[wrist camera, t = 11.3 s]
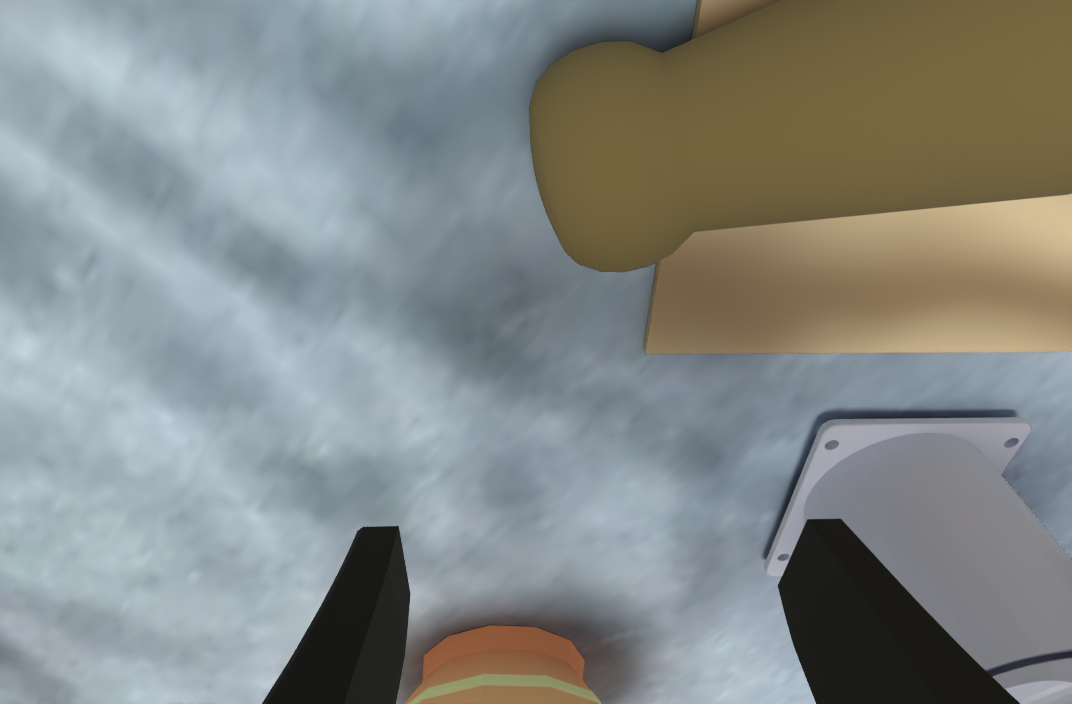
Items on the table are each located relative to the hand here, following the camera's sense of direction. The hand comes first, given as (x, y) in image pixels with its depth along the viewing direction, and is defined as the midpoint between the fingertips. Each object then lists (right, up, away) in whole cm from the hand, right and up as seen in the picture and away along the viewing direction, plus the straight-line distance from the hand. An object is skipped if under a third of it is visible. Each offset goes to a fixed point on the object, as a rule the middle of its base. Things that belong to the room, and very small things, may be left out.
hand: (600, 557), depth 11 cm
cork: (+10, +10, +2) cm, 14 cm away
